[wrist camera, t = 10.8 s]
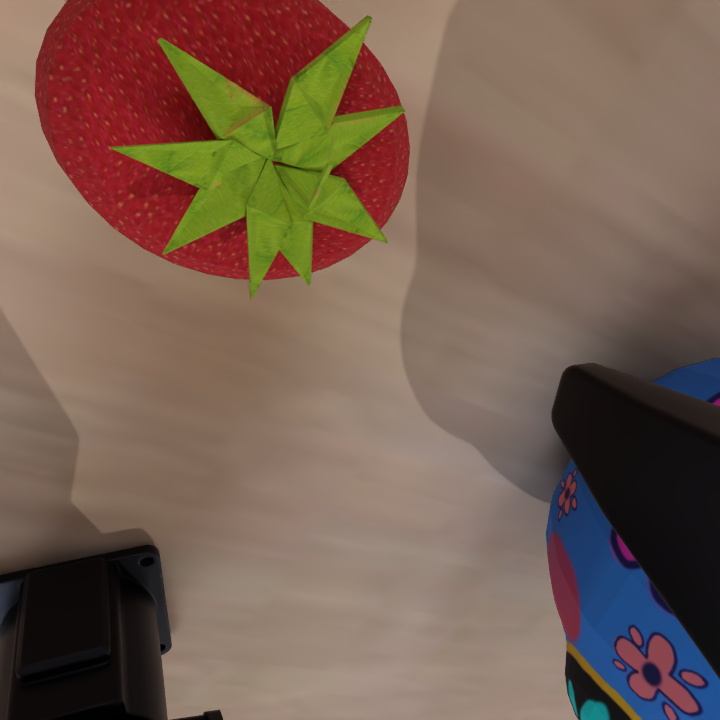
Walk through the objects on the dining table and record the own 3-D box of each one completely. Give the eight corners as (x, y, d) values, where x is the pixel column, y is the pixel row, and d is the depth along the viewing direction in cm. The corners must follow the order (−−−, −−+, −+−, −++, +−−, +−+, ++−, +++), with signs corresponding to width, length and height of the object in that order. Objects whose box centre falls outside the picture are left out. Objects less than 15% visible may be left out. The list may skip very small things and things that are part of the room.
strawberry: (75, -106, 14) (59, -169, 6) (362, 33, 18) (576, 100, 10) (28, 148, 17) (-26, 330, 9) (291, 225, 20) (421, 404, 12)
